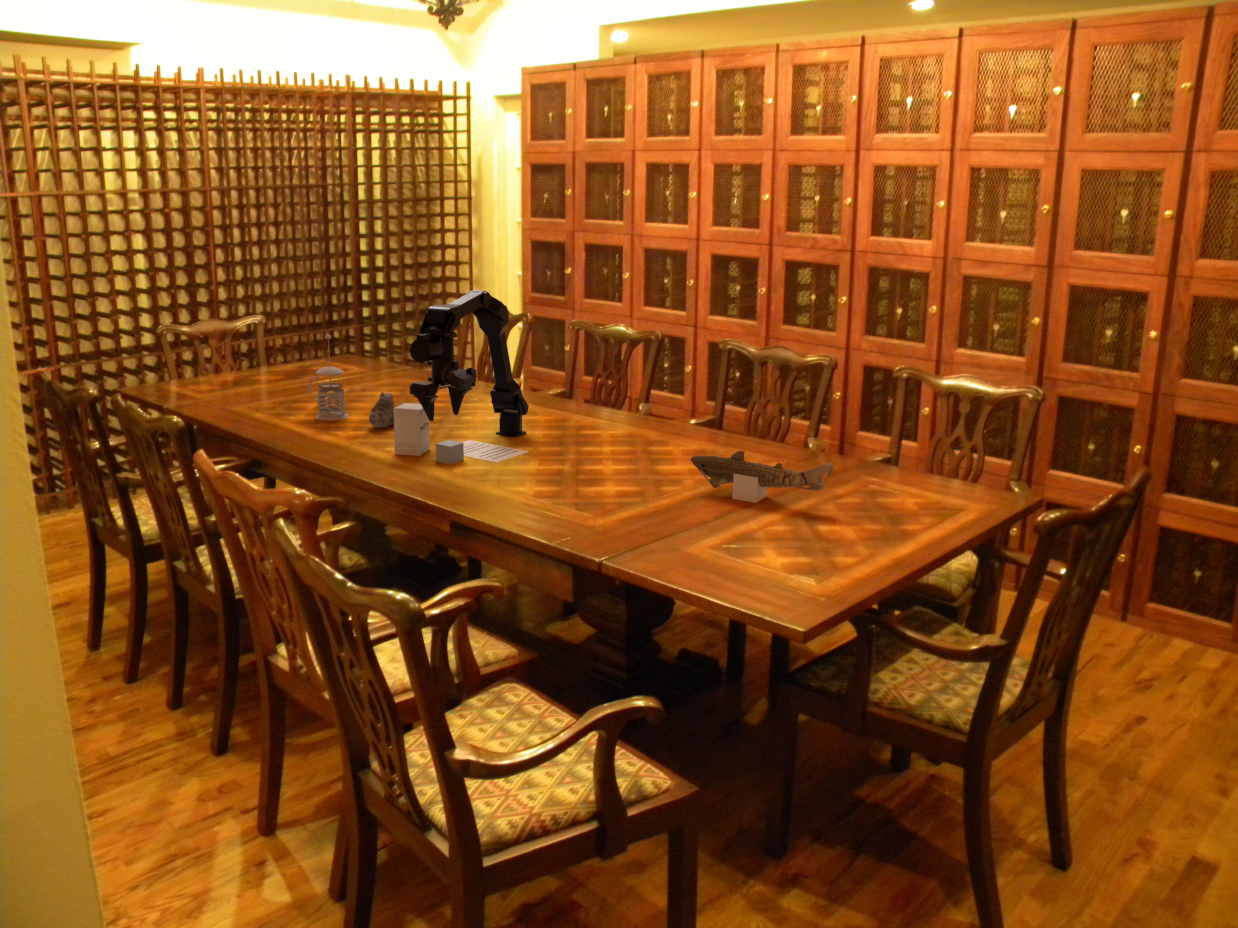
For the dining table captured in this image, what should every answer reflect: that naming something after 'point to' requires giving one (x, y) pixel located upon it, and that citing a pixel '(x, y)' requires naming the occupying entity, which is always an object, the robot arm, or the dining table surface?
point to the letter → (489, 451)
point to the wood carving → (756, 475)
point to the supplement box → (411, 430)
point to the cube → (449, 452)
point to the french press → (330, 394)
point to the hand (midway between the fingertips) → (443, 418)
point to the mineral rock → (383, 411)
